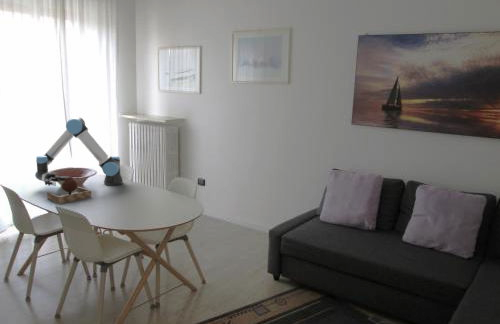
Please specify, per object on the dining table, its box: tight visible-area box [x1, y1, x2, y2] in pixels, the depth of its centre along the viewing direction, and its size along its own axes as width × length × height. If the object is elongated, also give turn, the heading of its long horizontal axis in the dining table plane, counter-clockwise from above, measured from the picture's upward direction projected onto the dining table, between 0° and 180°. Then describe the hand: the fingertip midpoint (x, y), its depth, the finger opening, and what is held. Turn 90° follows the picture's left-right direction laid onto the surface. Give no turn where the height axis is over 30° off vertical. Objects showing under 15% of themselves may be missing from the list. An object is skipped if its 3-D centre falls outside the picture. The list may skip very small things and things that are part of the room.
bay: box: [46, 186, 92, 205], centre depth 299 cm, size 24×17×5 cm
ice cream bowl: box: [60, 176, 79, 195], centre depth 298 cm, size 11×11×15 cm
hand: (64, 182), depth 301 cm, fingers open, 13 cm apart
